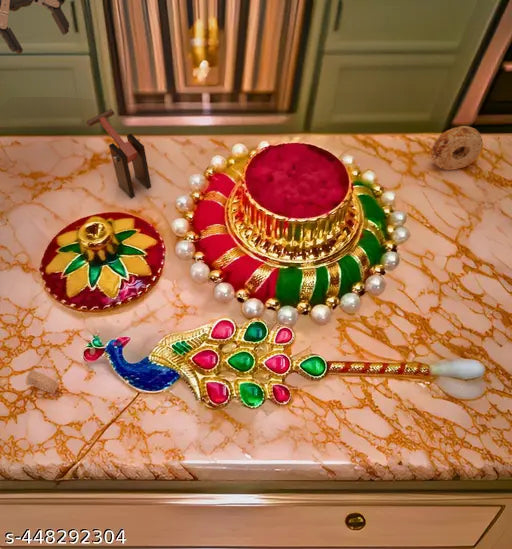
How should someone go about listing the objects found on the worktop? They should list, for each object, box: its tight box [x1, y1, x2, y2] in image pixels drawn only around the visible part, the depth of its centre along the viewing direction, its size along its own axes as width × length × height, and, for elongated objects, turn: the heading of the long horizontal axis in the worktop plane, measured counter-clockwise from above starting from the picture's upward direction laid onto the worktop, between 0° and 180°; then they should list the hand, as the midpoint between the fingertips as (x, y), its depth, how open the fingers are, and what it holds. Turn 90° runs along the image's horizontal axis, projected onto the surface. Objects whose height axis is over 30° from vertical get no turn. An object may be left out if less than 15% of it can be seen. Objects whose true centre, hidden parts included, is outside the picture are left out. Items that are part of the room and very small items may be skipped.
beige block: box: [25, 369, 59, 394], centre depth 93 cm, size 3×5×5 cm, turn 70°
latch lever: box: [86, 108, 137, 164], centre depth 111 cm, size 11×6×2 cm, turn 41°
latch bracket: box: [108, 133, 152, 200], centre depth 114 cm, size 11×8×13 cm
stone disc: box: [430, 125, 484, 171], centre depth 122 cm, size 10×4×10 cm, turn 98°
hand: (43, 42), depth 96 cm, fingers open, 8 cm apart
